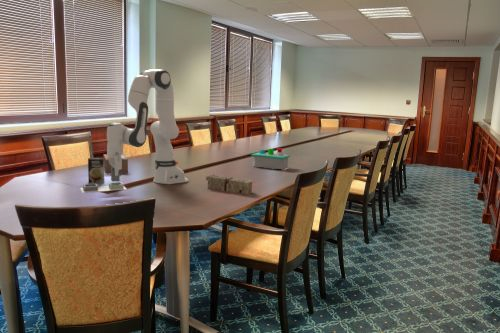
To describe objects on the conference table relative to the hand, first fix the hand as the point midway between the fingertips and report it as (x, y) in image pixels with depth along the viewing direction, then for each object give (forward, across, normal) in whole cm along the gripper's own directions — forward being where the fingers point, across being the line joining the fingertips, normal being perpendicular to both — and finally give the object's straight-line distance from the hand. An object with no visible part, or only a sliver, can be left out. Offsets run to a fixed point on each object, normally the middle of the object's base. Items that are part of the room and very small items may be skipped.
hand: (115, 174), depth 239 cm
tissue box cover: (+10, +63, -11) cm, 65 cm away
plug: (+4, 0, 0) cm, 4 cm away
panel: (+9, 0, +7) cm, 11 cm away
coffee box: (+10, +20, +8) cm, 24 cm away
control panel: (+8, +38, -128) cm, 133 cm away
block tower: (+9, -22, -63) cm, 68 cm away
